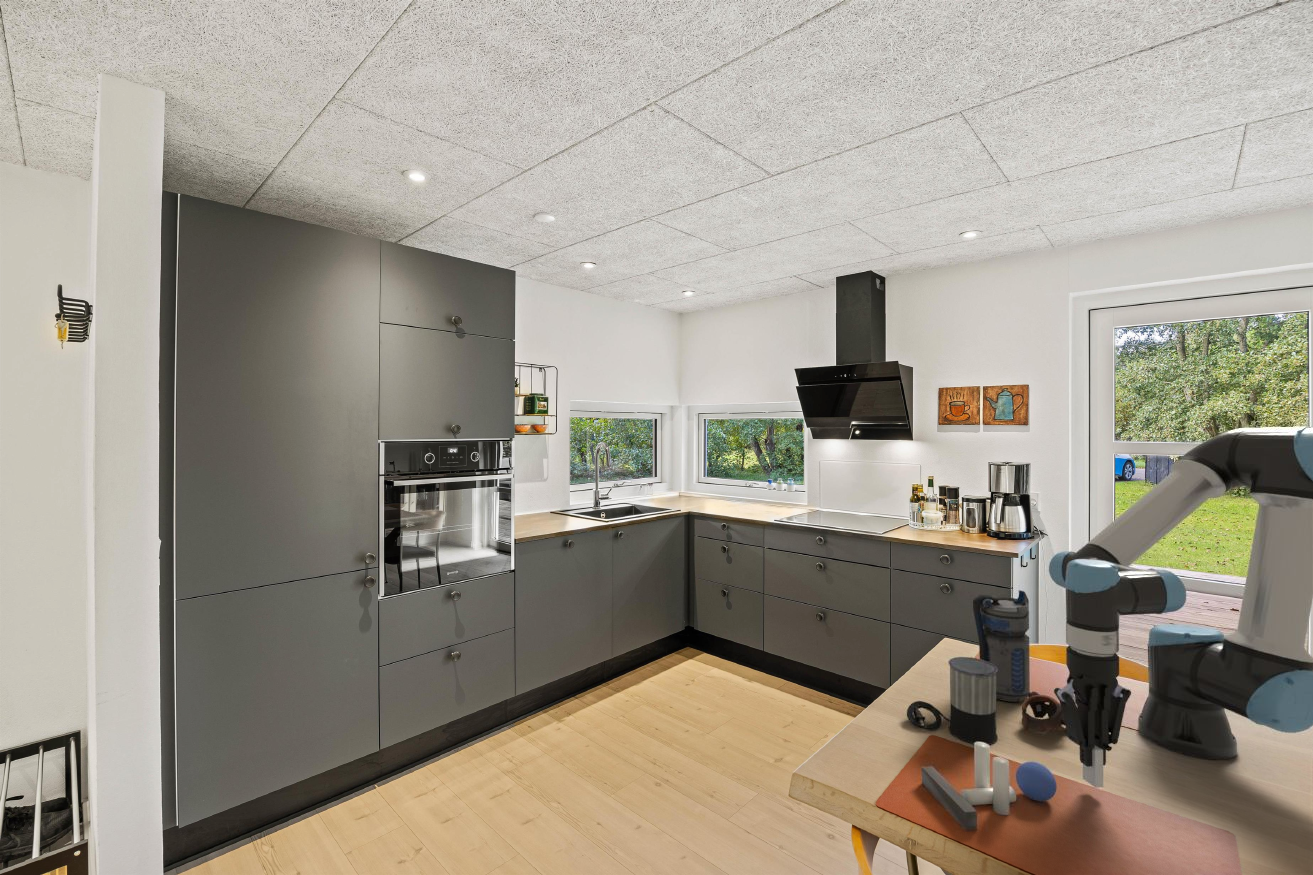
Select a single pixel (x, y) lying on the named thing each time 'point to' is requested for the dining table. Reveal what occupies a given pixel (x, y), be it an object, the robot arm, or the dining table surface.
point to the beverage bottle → (1005, 642)
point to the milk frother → (966, 702)
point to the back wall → (949, 798)
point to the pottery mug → (1042, 713)
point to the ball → (1036, 781)
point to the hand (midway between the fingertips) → (1092, 782)
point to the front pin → (983, 795)
